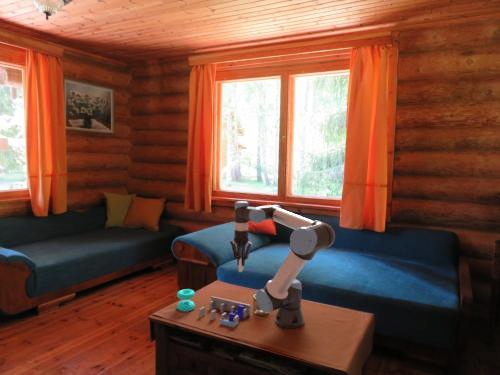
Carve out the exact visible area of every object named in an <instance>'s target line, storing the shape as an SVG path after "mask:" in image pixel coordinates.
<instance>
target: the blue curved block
mask: <svg viewBox="0 0 500 375" xmlns="http://www.w3.org/2000/svg"><path fill="white" fill-rule="evenodd" d="M243 309H245V306H242V305H239V307H238V310H236V311H235V313H231V311H229V313H228V320H229V321H232V322H233V318H234V317H235V316H236V315H238V316H239V322H240V321H241V320H242V319H244V318H243Z"/></svg>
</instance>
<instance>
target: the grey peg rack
mask: <svg viewBox="0 0 500 375" xmlns="http://www.w3.org/2000/svg"><path fill="white" fill-rule="evenodd" d="M210 299H211V301H209V311H210V321H214V320H215V319H216V318H217V310H216V309H219V310H220V313H221V316H220V317H221V318H220V319H219V324H220V325H223V326H227V327H231V328H235V327H237V326H238V325H239V322H240V321H239V316H238V315H236V316H235V317H234V318H233V322H232V321H229V319H227V317H228V316H227V314H228V313H227V312H231V313H235V311H236V310H238V307H239V305H242V306H245V309H243V318H242V319H246V318H247V317H250V316H251V313H252V312H251V311H252V309H251V308H252V305H251V304H250V303H249V304H248V303H245V302H244V303H243V302H240V301H236V300H232V299H227V298H222V297H218V296H215V295H212V296H211V298H210ZM225 311H227V312H225ZM205 314H206V312H205V306H202V307H200V308H199V309H198V317H199V318H203V317H204V316H205Z"/></svg>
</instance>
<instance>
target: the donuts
mask: <svg viewBox="0 0 500 375" xmlns="http://www.w3.org/2000/svg"><path fill="white" fill-rule="evenodd" d="M195 295H196V293H195V290H193V289H190V288H185V289H181V290H179V291H177V293H176V296H177V298H178V299H179V300H181V301H179V302H178V303H177V305H176V308H177V310H178V311H180V312H189V311H193V309H195V306H196V304H195V303H194V301H192V300H191V299H193V298H194V297H195Z"/></svg>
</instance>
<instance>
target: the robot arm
mask: <svg viewBox="0 0 500 375" xmlns="http://www.w3.org/2000/svg"><path fill="white" fill-rule="evenodd" d="M269 220H270V221H273V222H276V223H279V224H281V225H283V226H285V227H287V228H290V229H293V231H292V233H291V235H290V237H289V241H290V242H289V245H290V246H289V247H290V248H289V249H290V251H289V253H288V254H287V256H286V257H285V259H284V261H283V263H282V264H281V266H280V267H279V269H278V270H277V273H276V274H274V275H275V276H274V277H273V278H272V279H270V280H268V281H267V282H266V284H265V286H264V287H263V288H260V289H259V290H257V291H256V294H255V300H256V304H257V306H258V308H259V309H260V311H262V312H264V313H266V314H267V313H271V312H274V311H276V313H275V318H274V319H275V320H274V321H275V324H276V325H278V326H280V327H282V328H286V329H297V328H301V327H302V326H303V325H304V323H305V317H304V314H303V310H302V290H303V289H302V282H301V281H300V280H299V279H296V278H297V276H298V275H299V273H300V272H301V270H302V268H303V267H304V266H305V264H306V263H307V262H308V261H311V260H312V259H314V257H315V255H316V254H317V253H318V252H319V251H322V250H326V249H328V248H330V247H331V246H332V245H333V244H334V242H335V238H336V234H335V231H334V229H333V227H332V226H331V225H330V224H328V223H326V222H323V221H320V220H317V219H316V220H312V219H310V218H307V217H304V216H302V215H298V214H296V213H293V212H290V211H287V210H285V209H283V208H282V207H281V206H280V205H279V204H271V205H270V204H269V205H264V206H257V207H253V206H249V201H245V200H238V201H235V204H234V238H233V239H232V240H231V241H229V242H230V245H231V249H232V253H233V259H235V260H236V261H237V263H236V264H237V266H238V273H242V272H243V271H244V266H245V264H246V263H245V262H246V260H248V259H249V255H250V252H251V249H252V248H251V247H252V246H253V242H251V241H250V240H249V222H251V223H255V224H261V223H263V222H264V221H269ZM246 246H247V247H246Z"/></svg>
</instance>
